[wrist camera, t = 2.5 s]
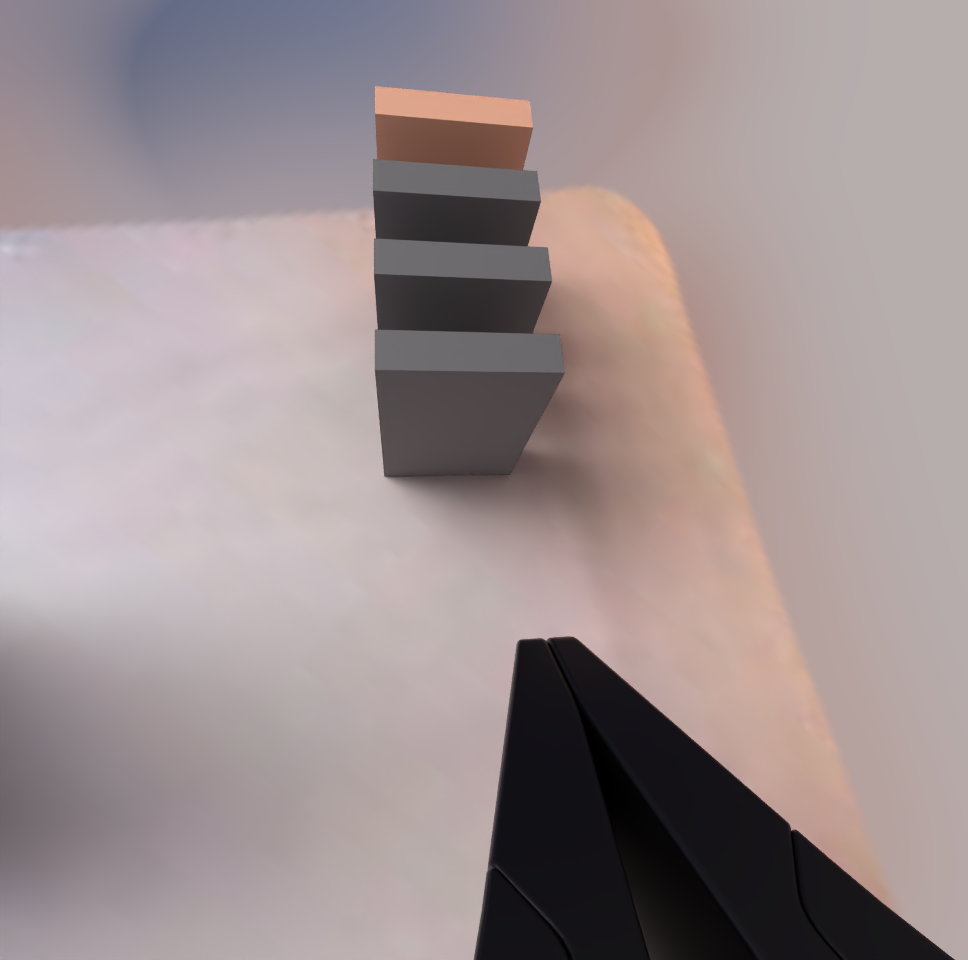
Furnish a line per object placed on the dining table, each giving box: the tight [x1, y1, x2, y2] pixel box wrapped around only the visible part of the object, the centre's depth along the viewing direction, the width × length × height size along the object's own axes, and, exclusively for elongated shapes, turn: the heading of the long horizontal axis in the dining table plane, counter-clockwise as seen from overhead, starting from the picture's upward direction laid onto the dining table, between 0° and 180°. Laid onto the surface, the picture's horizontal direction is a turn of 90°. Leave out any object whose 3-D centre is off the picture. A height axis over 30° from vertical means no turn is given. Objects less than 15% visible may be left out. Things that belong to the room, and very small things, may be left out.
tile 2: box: [374, 239, 552, 334], centre depth 19 cm, size 1×5×8 cm, turn 94°
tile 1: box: [375, 330, 565, 476], centre depth 18 cm, size 1×5×8 cm, turn 94°
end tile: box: [375, 86, 533, 170], centre depth 21 cm, size 1×5×8 cm, turn 94°
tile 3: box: [373, 159, 541, 246], centre depth 20 cm, size 1×5×8 cm, turn 94°
